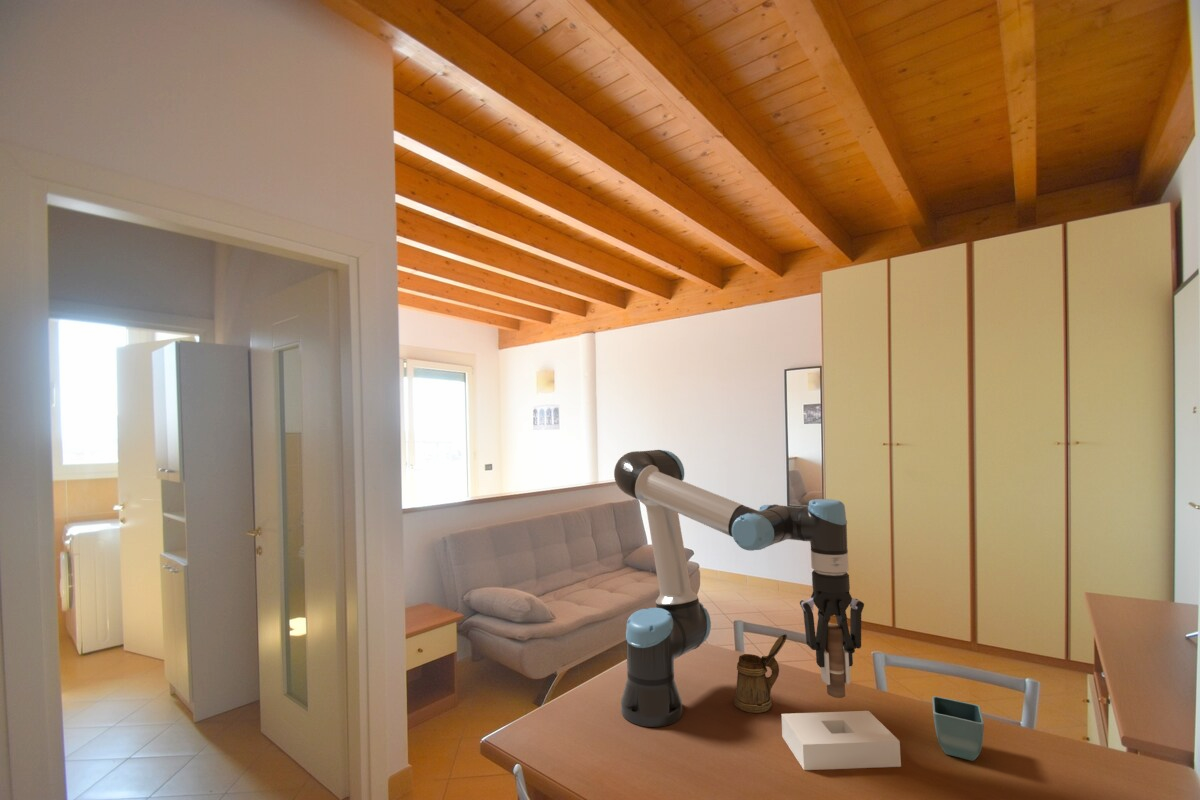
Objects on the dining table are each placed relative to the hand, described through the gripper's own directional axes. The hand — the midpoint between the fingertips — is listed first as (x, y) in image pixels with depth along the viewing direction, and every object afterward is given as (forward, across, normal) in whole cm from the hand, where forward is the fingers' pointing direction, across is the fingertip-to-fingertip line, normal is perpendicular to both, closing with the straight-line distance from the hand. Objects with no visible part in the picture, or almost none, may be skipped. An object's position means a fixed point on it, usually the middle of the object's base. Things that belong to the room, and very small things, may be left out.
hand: (835, 681), depth 115 cm
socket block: (+14, 0, 0) cm, 14 cm away
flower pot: (+15, +25, -2) cm, 29 cm away
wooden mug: (+15, -10, +20) cm, 27 cm away
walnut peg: (+3, 0, 0) cm, 3 cm away
